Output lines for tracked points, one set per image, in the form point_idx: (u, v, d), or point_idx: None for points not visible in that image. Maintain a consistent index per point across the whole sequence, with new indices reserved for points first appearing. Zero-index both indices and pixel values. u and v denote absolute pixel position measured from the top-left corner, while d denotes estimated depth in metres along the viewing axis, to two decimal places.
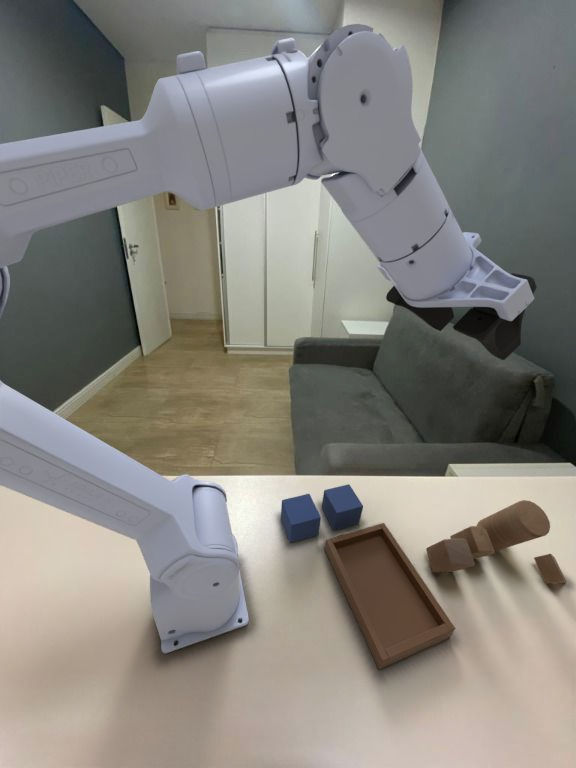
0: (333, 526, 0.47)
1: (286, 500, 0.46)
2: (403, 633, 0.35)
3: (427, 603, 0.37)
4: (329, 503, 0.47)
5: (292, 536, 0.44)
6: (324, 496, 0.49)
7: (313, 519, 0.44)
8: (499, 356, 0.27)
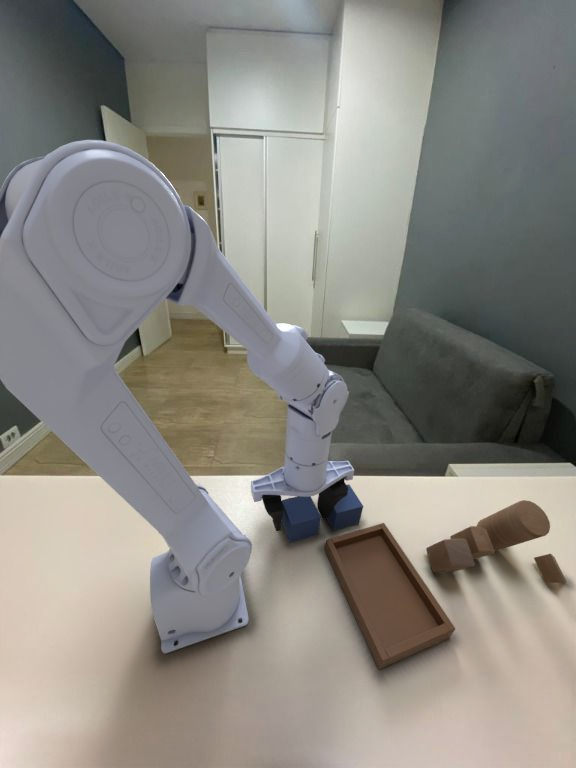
0: (333, 526, 0.47)
1: (286, 500, 0.46)
2: (403, 633, 0.35)
3: (427, 603, 0.37)
4: None
5: (292, 536, 0.44)
6: None
7: (313, 519, 0.44)
8: None
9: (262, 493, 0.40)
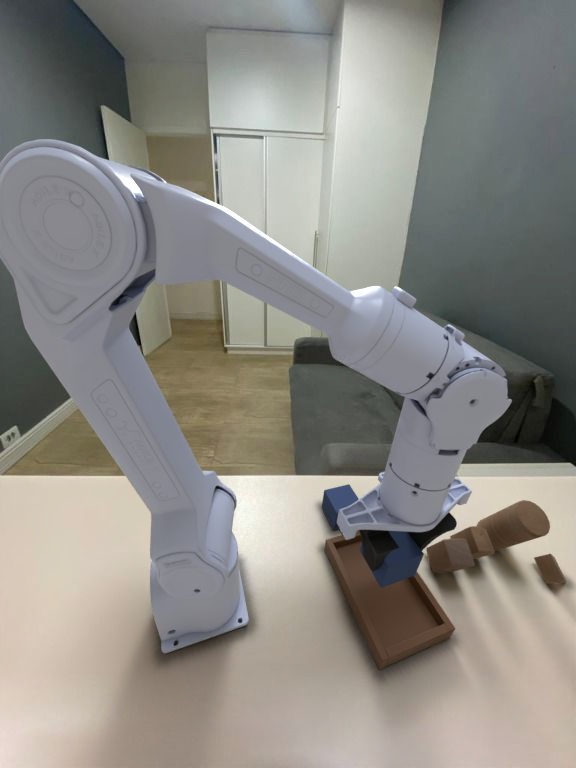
0: (333, 526, 0.47)
1: None
2: (403, 633, 0.35)
3: (427, 603, 0.37)
4: (329, 503, 0.47)
5: (385, 580, 0.33)
6: (324, 496, 0.49)
7: (414, 557, 0.32)
8: None
9: (359, 528, 0.28)
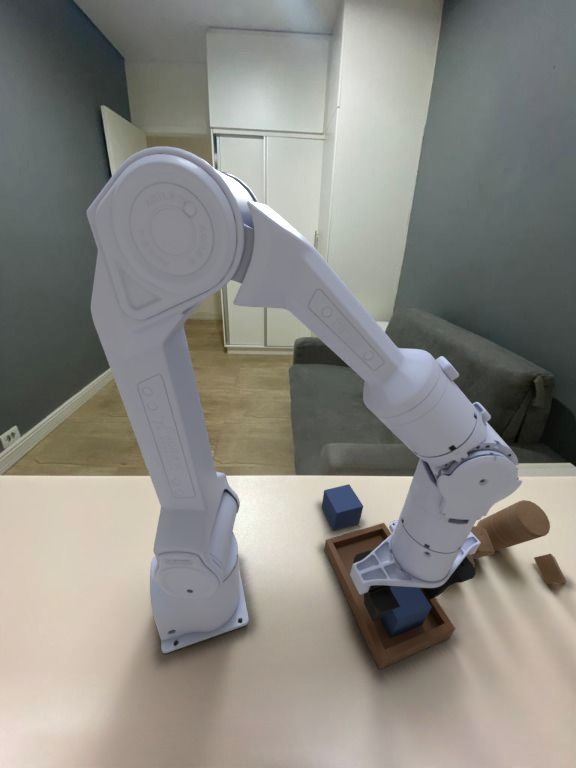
0: (333, 526, 0.47)
1: None
2: (403, 633, 0.35)
3: None
4: (329, 503, 0.47)
5: (394, 631, 0.34)
6: (324, 496, 0.49)
7: (422, 611, 0.34)
8: (437, 594, 0.36)
9: (372, 584, 0.29)
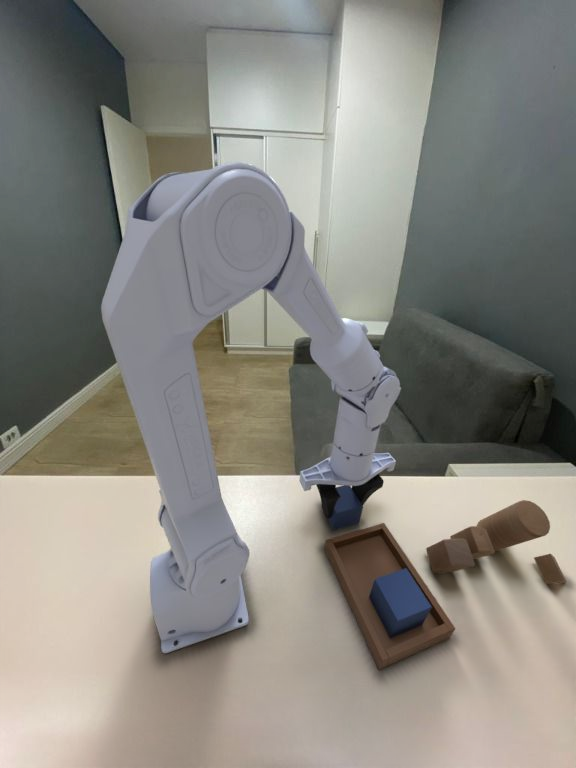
0: (333, 526, 0.47)
1: (380, 579, 0.36)
2: (403, 633, 0.35)
3: None
4: None
5: (394, 631, 0.34)
6: None
7: (422, 611, 0.34)
8: None
9: (312, 482, 0.42)
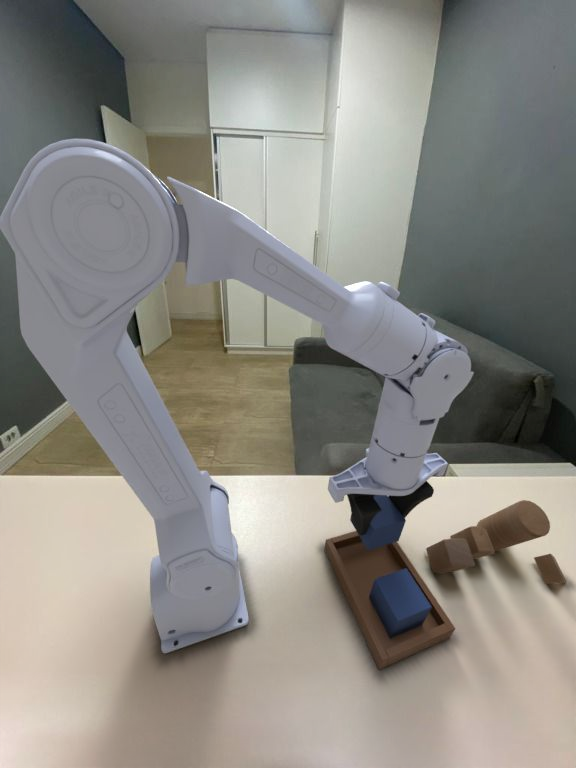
0: (368, 545, 0.37)
1: (380, 579, 0.36)
2: (403, 633, 0.35)
3: None
4: None
5: (394, 631, 0.34)
6: None
7: (422, 611, 0.34)
8: None
9: (346, 492, 0.32)
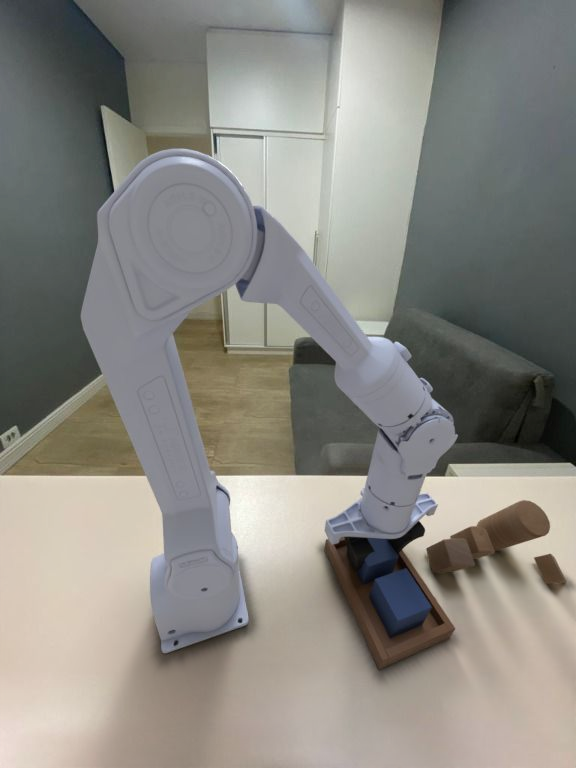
0: (362, 580, 0.39)
1: (380, 579, 0.36)
2: (403, 633, 0.35)
3: None
4: None
5: (394, 631, 0.34)
6: None
7: (422, 611, 0.34)
8: None
9: (341, 535, 0.34)
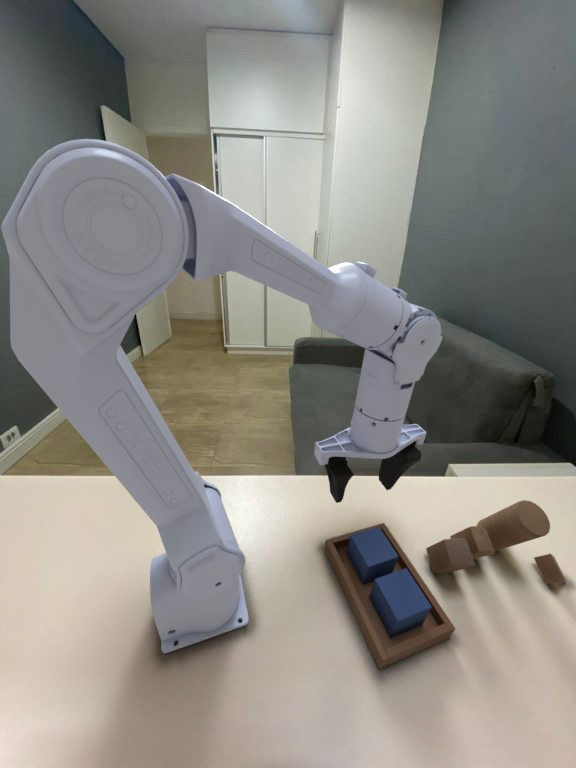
0: (362, 580, 0.39)
1: (380, 579, 0.36)
2: (403, 633, 0.35)
3: None
4: (357, 551, 0.40)
5: (394, 631, 0.34)
6: (350, 542, 0.41)
7: (422, 611, 0.34)
8: (393, 485, 0.42)
9: (330, 455, 0.35)
